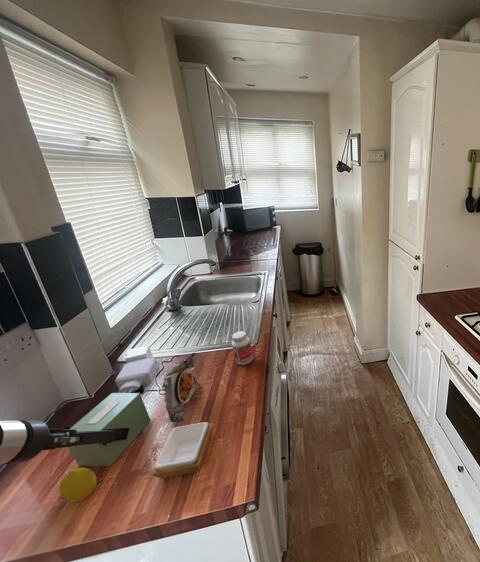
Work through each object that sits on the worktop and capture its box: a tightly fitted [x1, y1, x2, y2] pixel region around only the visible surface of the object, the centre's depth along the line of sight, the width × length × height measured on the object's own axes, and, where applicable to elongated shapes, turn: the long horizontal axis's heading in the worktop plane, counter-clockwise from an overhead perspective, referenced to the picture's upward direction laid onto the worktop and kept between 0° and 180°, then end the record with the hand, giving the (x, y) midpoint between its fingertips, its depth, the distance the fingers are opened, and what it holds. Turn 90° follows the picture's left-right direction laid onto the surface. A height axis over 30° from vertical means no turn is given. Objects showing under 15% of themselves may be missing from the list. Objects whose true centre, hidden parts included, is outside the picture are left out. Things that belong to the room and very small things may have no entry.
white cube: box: [124, 345, 154, 364], centre depth 110 cm, size 6×6×6 cm
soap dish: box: [151, 421, 214, 479], centre depth 75 cm, size 12×10×5 cm
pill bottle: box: [231, 330, 254, 366], centre depth 110 cm, size 6×6×11 cm
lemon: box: [59, 466, 98, 503], centre depth 66 cm, size 6×6×8 cm
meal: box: [161, 352, 202, 424], centre depth 91 cm, size 15×4×13 cm, turn 9°
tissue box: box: [64, 392, 152, 467], centre depth 79 cm, size 8×14×10 cm, turn 178°
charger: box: [114, 357, 160, 393], centre depth 101 cm, size 5×9×15 cm
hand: (110, 433), depth 79 cm, fingers closed on tissue box, 8 cm apart
